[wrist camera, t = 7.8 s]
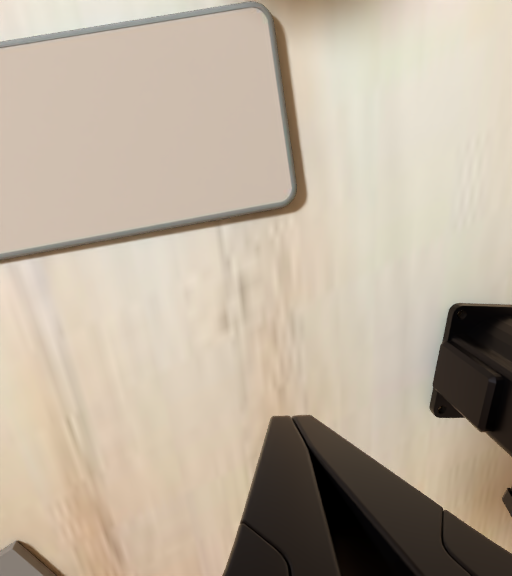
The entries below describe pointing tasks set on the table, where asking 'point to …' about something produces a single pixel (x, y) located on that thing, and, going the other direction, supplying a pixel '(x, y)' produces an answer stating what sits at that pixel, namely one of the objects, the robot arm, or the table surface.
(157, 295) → the table surface
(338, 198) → the table surface
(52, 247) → the smartphone
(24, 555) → the rubber mat
